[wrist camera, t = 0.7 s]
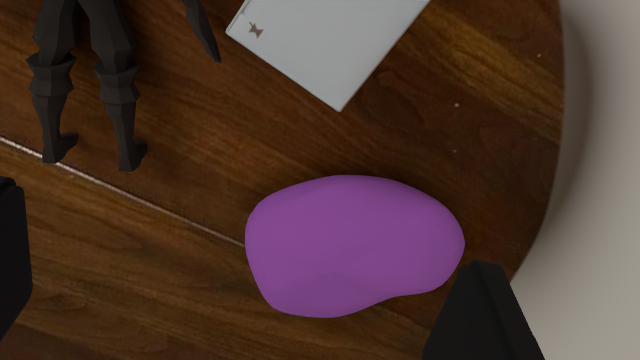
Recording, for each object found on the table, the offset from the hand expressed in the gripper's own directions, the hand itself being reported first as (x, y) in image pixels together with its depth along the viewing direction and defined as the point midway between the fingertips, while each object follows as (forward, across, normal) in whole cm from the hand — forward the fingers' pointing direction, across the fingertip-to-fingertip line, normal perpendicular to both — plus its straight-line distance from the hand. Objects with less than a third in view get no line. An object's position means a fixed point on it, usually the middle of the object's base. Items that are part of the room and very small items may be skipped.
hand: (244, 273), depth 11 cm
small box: (+22, -2, -4) cm, 22 cm away
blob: (+21, -7, +13) cm, 26 cm away
